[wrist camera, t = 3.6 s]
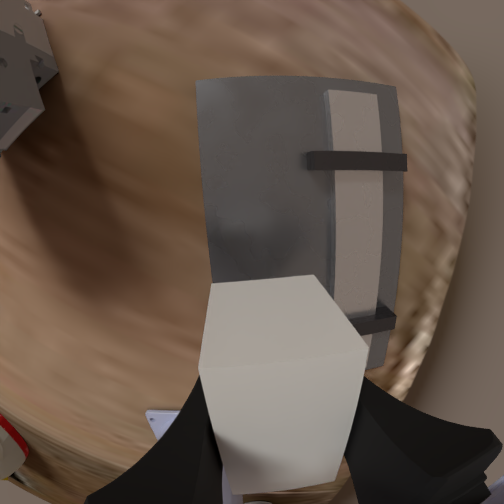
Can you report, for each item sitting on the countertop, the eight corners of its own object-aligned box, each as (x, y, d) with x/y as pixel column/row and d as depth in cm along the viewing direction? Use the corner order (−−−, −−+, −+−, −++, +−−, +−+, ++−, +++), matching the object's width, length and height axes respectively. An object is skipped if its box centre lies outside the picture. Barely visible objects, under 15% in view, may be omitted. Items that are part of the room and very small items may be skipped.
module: (313, 274, 11) (369, 347, 6) (308, 400, 13) (335, 480, 8) (211, 283, 11) (197, 368, 6) (230, 409, 13) (232, 494, 8)
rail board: (378, 358, 20) (391, 376, 18) (228, 381, 20) (228, 404, 17) (388, 90, 15) (408, 81, 12) (197, 85, 14) (192, 72, 12)
